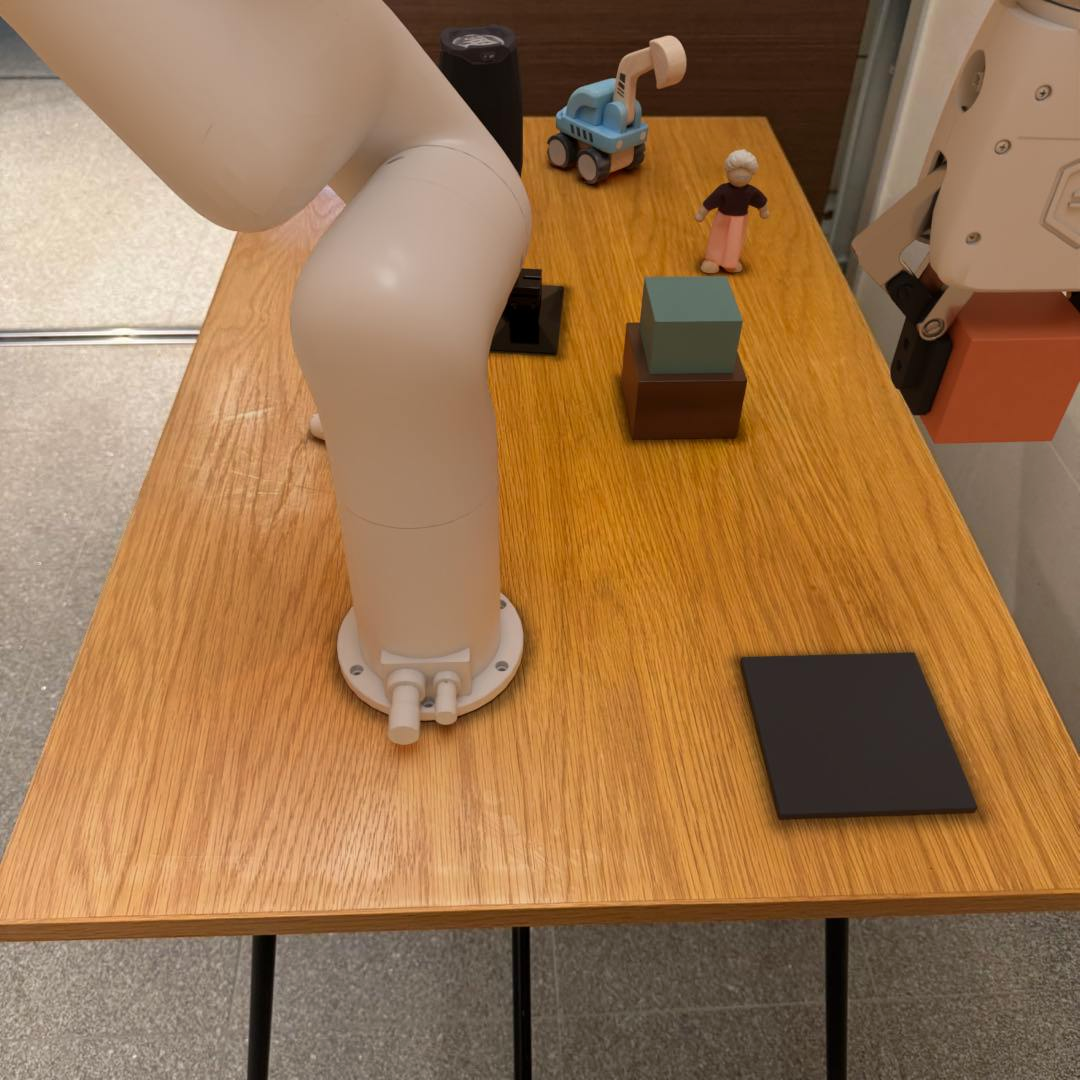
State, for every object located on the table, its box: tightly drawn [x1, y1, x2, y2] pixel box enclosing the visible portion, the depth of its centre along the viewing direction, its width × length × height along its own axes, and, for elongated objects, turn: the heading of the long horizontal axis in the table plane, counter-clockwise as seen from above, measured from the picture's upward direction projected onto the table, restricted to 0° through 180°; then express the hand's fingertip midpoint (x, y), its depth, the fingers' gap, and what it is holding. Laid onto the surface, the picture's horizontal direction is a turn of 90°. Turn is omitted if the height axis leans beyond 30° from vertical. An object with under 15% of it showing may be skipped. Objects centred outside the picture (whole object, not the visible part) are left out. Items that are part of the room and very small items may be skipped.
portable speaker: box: [437, 23, 524, 180], centre depth 108 cm, size 9×9×20 cm
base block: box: [620, 321, 748, 440], centre depth 87 cm, size 9×9×6 cm
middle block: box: [639, 275, 744, 374], centre depth 83 cm, size 7×7×5 cm
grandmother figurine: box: [694, 148, 771, 274], centre depth 103 cm, size 8×4×13 cm, turn 106°
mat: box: [739, 651, 979, 820], centre depth 64 cm, size 12×12×1 cm
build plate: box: [489, 267, 565, 357], centre depth 97 cm, size 12×7×5 cm, turn 176°
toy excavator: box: [546, 35, 687, 185], centre depth 117 cm, size 9×17×17 cm, turn 42°
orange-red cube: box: [918, 292, 1080, 445], centre depth 45 cm, size 6×6×6 cm
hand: (976, 393), depth 46 cm, fingers closed on orange-red cube, 5 cm apart
